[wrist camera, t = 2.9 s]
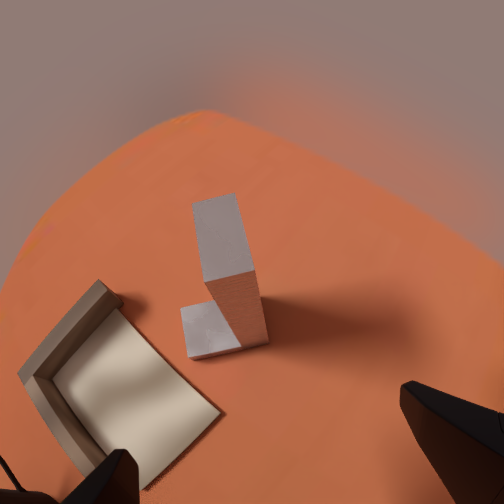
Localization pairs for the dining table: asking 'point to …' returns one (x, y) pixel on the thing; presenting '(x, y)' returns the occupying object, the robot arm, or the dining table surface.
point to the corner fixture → (112, 390)
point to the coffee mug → (21, 492)
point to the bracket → (224, 285)
